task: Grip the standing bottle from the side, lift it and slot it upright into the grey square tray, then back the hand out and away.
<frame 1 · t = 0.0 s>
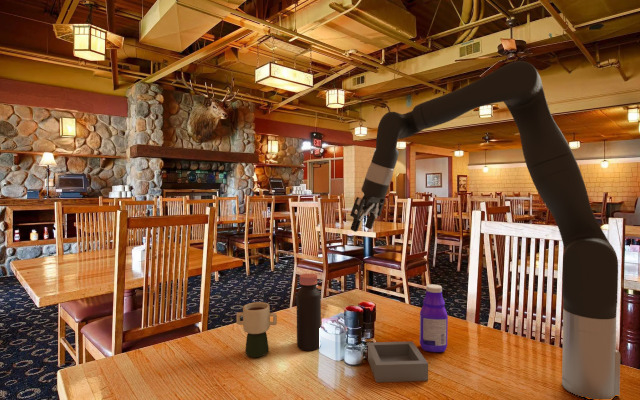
hand: (361, 229, 112), 31 cm above the table, tool tilted 20°, fingers open, 8 cm apart
character mug: (257, 354, 98), on the table
bottle: (433, 349, 100), on the table
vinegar: (309, 346, 102), on the table
grey square tray: (395, 368, 89), on the table
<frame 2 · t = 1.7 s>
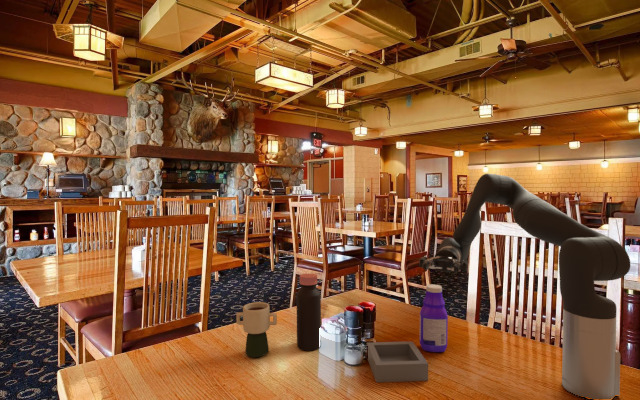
hand: (439, 268, 109), 20 cm above the table, tool horizontal, fingers open, 8 cm apart
nothing on the table moved.
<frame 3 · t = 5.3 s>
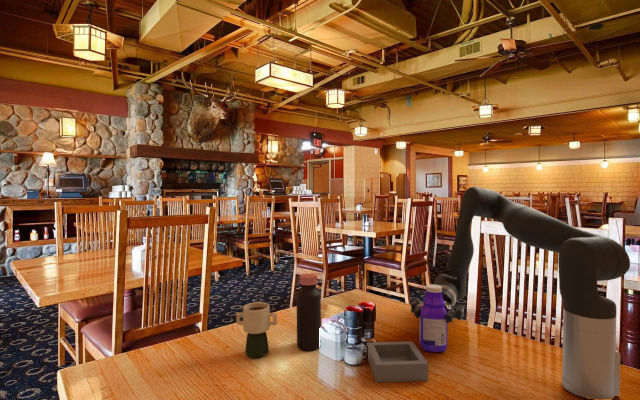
hand: (432, 317, 98), 10 cm above the table, tool horizontal, fingers closed on bottle, 7 cm apart
bottle: (433, 349, 100), on the table, touching gripper
everything else where it was.
when the fingers open (11 cm above the table, at t = 11.0 s): bottle stays where it is, resting on grey square tray.
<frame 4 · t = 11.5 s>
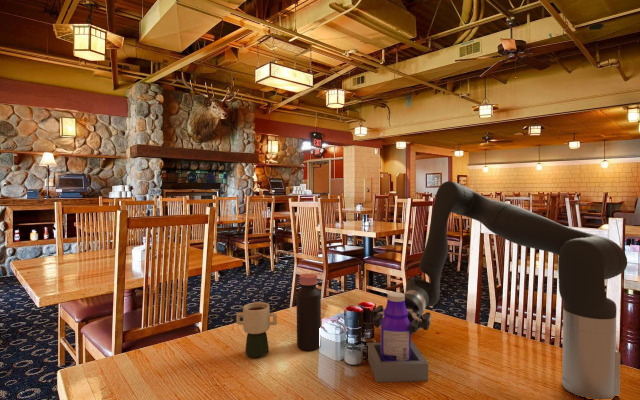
hand: (393, 326, 87), 11 cm above the table, tool horizontal, fingers open, 8 cm apart
bottle: (395, 364, 89), point 1 cm above the table, touching grey square tray
everything else where it was.
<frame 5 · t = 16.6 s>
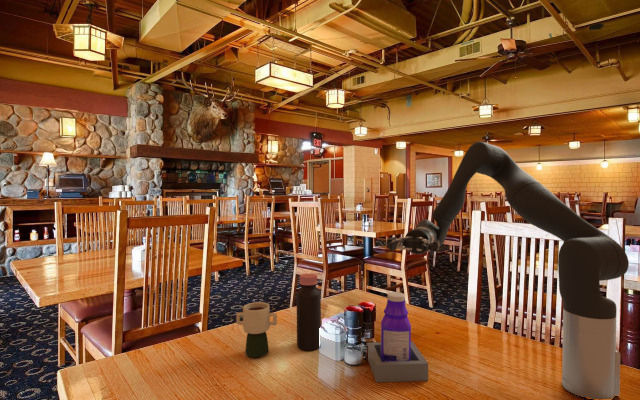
hand: (406, 247, 98), 28 cm above the table, tool horizontal, fingers open, 8 cm apart
nothing on the table moved.
at the end: bottle 0.2 cm off-centre on the grey square tray, point 0.8 cm above the grey square tray's base; bottle tilted 0°; the gripper is holding nothing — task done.
